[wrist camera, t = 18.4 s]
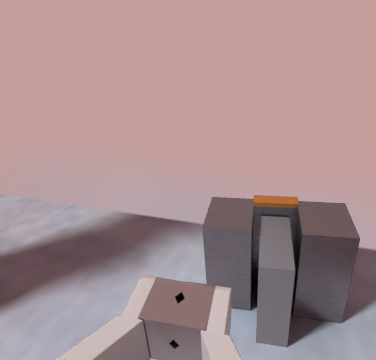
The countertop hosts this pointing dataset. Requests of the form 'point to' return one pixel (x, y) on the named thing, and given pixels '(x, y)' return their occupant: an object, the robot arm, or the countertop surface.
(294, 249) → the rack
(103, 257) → the countertop surface
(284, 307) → the grey block
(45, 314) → the countertop surface
